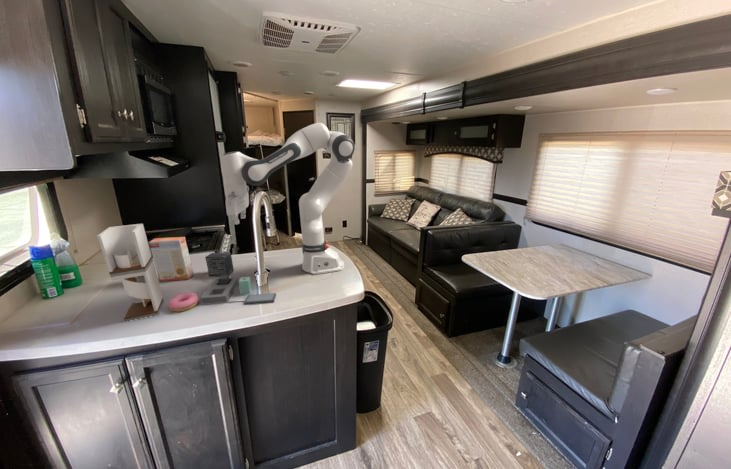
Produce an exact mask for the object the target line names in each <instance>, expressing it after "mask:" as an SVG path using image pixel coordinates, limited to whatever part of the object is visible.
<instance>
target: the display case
mask: <svg viewBox="0 0 731 469" xmlns="http://www.w3.org/2000/svg"><path fill="white" fill-rule="evenodd" d="M96 238H97V240H98V243H99V247H100V248H101V252H102V255H103V258H104V262H105V263H106V267H107V270H108V273H109V276H110V280H111V281H116V280H117V281H118V280H121V282H122V286H123V288H124V292H125V294H127V295H128V296H129V297H131V298H133V299H134V302H132V304H131V305H130V307H129V308H128V311H127V312H126V313H125V315H124V317H123V318H124V322H125V321H128V322H131V321H130V320H133V321H136V320H135V319H138V320H141V319H140V318H143V319H146V318H145V317H147V318H151V317H150V316H152V317H156V316H155V315H157V316H159V315H160V313H159V312H161V310H162V308H161V307H163V305H164V303H165V300H164V295H163V292H162V290H161V286H160V281H159V277H158V274H157V270H156V267H155V263H154V259H153V256H152V252H151V248H150V244H149V241H148V238H147V234H146V230H145V226H144V223H136V224H135V223H134V224H127V225H118V226H108V227H106V229H104V230H103V231H102V232H101V233H99V234H97V235H96ZM158 314H159V315H158Z"/></svg>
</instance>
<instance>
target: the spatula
mask: <svg viewBox="0 0 731 469" xmlns="http://www.w3.org/2000/svg"><path fill="white" fill-rule="evenodd" d="M276 297H277V293H276V292H274V293H272V292H271V293H257V294H247V296H246V298H245V299H235V300H234V299H233V300H228V301H227V302H226V303H237V302H243V305H257V304H271V303H272V304H273V303H275V300H276Z"/></svg>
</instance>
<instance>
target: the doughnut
mask: <svg viewBox="0 0 731 469" xmlns="http://www.w3.org/2000/svg"><path fill="white" fill-rule="evenodd" d="M198 302H199V296H198V295H197V294H196V293H193V292H184V293H180V294H177V295H176V296H174V297H172V298H171V299H170V300H169V301H168V303H167V307H168V309H169V310H170V311H172V312H176V313H178V312H179V313H180V312H185V311H188V310H190V309H193V308H194V307H195V306H196V305H197V304H198Z"/></svg>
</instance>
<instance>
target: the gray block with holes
mask: <svg viewBox="0 0 731 469" xmlns="http://www.w3.org/2000/svg"><path fill="white" fill-rule="evenodd" d="M239 280H240V278H239V276H231V277H230V275H221V276H218V277H216V278H215V280H214V281H213V282H212V283H211V285H210V286H209V287H208V288H207V290H206V291H205V292H204V294H202V296H201V297H200V300H201V304H202V305H207V304H221V303H222V304H223V303H228V302H227V301H230V298H231V297H232V295H233V293H234V291H235V290H236V288H237V287H238V286H239V282H238V281H239Z"/></svg>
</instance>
